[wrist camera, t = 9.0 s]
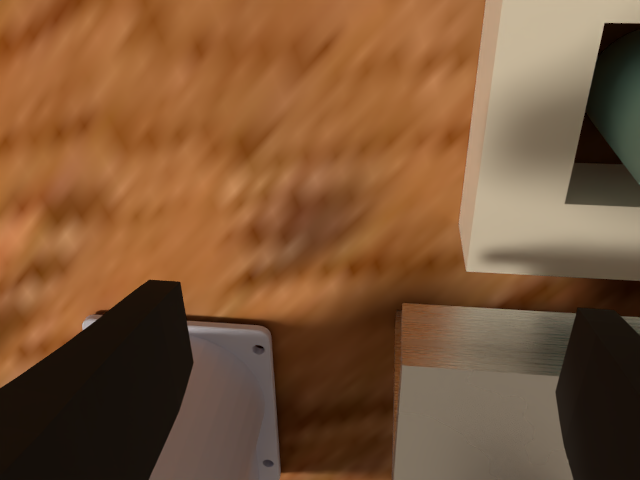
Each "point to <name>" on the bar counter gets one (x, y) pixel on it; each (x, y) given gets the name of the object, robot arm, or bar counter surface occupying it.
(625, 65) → the peg
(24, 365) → the bar counter surface
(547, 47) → the socket block
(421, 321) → the grey angle bracket
